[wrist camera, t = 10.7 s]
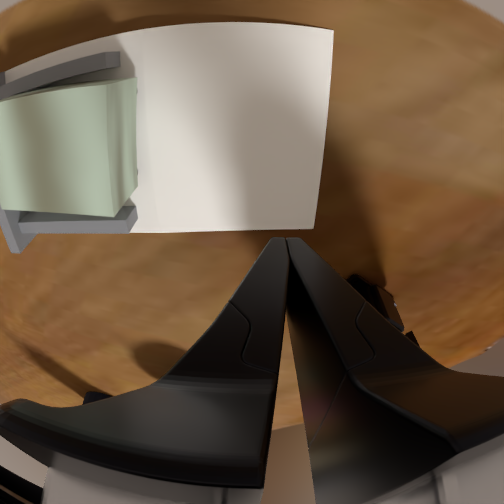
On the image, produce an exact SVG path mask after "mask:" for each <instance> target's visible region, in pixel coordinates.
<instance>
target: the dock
mask: <svg viewBox="0 0 504 504" xmlns="http://www.w3.org/2000/svg"><path fill="white" fill-rule="evenodd" d="M333 32H334V30H328V29H322V28H315V27H307V26H298V25H288V24H275V23H255V22H214V23H194V24H181V25H171V26H162V27H155V28H148V29H141V30H135V31H130V32H125V33H120V34H116V35H111V36H107V37H103V38H99V39H95V40H91V41H87V42H84V43H80V44H77V45H73V46H70V47H67V48H64V49H61V50H58V51H55V52H52V53H49V54H46V55H44V56H41V57H38V58H36V59H33V60H31V61H28V62H26V63H23V64H21V65H18V66H16V67H14V68H12V69H9V70H7V71H5V72H1V73H0V100H2V99H4V98H7V97H10V96H13V95H16V94H19V93H22V92H26V91H31V90H36V89H41V88H46V87H52V86H58V85H64V84H71V83H78V82H86V81H95V80H105V79H118V78H135V77H137V90H138V92H137V102H136V149H137V169H138V175H137V178H138V187H137V188H136V189H135V191H134V192H133V193H132V194H131V196H130V197H129V198H128V199H127V201H126V202H125V203H124V205H123V206H122V207H121V209H120V210H119V211H118V213H117V214H116V215H115V217H106V216H94V215H80V214H67V213H52V212H37V211H21V210H4V209H2V208H1V205H0V226H1V228H2V231H3V234H4V236H5V239H6V241H7V244H8V246H9V248H10V251H11V253H21V252H22V251H23V250H24V248H25V247H26V246H27V245H28V244H29V243H30V242H31V240H32V239H33V238H34V237H35V236H36V235H37V234H38V233H126V234H129V233H168V232H197V231H231V230H276V229H313V228H314V222H315V215H316V208H317V201H318V193H319V186H320V178H321V170H322V162H323V153H324V144H325V135H326V125H327V115H328V104H329V93H330V80H331V67H332V51H333Z"/></svg>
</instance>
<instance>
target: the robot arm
mask: <svg viewBox="0 0 504 504" xmlns="http://www.w3.org/2000/svg"><path fill="white" fill-rule="evenodd" d="M354 280H356V281H354ZM285 314H286V315H287V321H288V327H289V333H290V339H291V344H292V350H293V356H294V362H295V368H296V374H297V380H298V386H299V392H300V399H301V405H302V411H303V418H304V424H305V430H306V436H307V444H308V448H309V449H308V451H309V457H310V464H311V471H312V478H313V485H314V492H315V500H316V504H504V377H499V376H489V375H480V374H471V373H463V372H457V371H454V370H451V369H448V368H446V367H444V366H443V365H441V364H439V363H438V362H437V361H435V360H434V359H433V358H432V357H431V356H429V355H428V354H427V353H426V352H424V351H423V350H422V349H421V348H420V346H419V344H418V342H417V340H416V338H415V336H414V334H413V332H412V331H410V332H408V333H406V335H404V334H403V333H401V332H403V331H404V325H403V323H402V320H401V318H400V315H399V313H398V311H397V308H396V303H395V302H394V301H393V299H392V297H391V295H389V294H388V293H387V292H385V291H384V290H383V289H381V288H380V287H379V286H377V285H375V284H373V285H372V284H371V283H369V282H368V281H366V280H365V279H364V278H362V277H361V276H360V275H358V274H355V275H352V276H351V277H350V278H348V279H347V280H345V279H344V278H343V277H341V276H340V275H339V274H338V273H337V272H336V271H335V270H334V269H333V268H332V267H331V266H330V265H329V264H328V263H327V262H326V261H325V260H324V259H322V258H321V257H320V256H319V255H318V254H317V253H316V252H315V251H314V250H313V249H312V248H311V247H310V246H309V245H307V244H306V243H305V242H304V241H303V240H302V239H301V238H286V239H285V238H283V237H272V238H271V239H270V240H269V242H268V243H267V245H266V246H265V248H264V249H263V251H262V252H261V254H260V255H259V257H258V258H257V260H256V261H255V262H254V264H253V265H252V267H251V268H250V270H249V271H248V273H247V274H246V276H245V277H244V279H243V280H242V282H241V283H240V285H239V286H238V288H237V289H236V291H235V292H234V294H233V295H232V297H231V298H230V299H229V301H228V303H227V304H226V305H225V307H224V308H223V310H222V311H221V312H220V314H219V315H218V316H217V318H216V319H215V321H214V322H213V323H212V325H211V326H210V327H209V328H208V329H207V330H206V331H205V333H204V334H203V335H202V336H201V337H200V338H199V339H198V340H197V341H196V343H195V344H194V345H193V346H192V347H191V348H190V349H189V350H188V351H187V352H186V353H185V354H184V355H183V356H182V357H181V358H180V360H179V361H178V362H177V363H176V364H175V365H174V366H173V367H172V368H171V369H170V370H169V371H168V372H167V373H166V374H165V375H164V376H163V377H161V378H160V379H159V380H157V381H156V382H154V383H153V384H151V385H149V386H146V387H143V388H140V389H137V390H134V391H130V392H127V393H124V394H120V395H117V396H114V397H110V398H106V399H103V400H99V401H96V402H92V403H88V404H84V405H80V406H75V407H63V408H59V407H50V406H45V405H42V404H39V403H36V402H33V401H30V400H27V399H16V400H13V401H10V402H7V403H4V404H1V405H0V435H1V436H2V437H3V438H5V439H6V440H7V441H9V442H10V443H12V444H13V445H15V446H16V447H17V448H19V449H20V450H22V451H23V452H25V453H26V454H28V455H29V456H31V457H33V458H34V459H36V460H37V461H39V462H41V463H42V464H44V465H46V466H47V467H48V471H47V475H46V479H45V483H44V488H41V487H39V486H37V485H35V484H33V483H31V482H29V481H27V480H25V479H23V478H22V477H19V476H18V475H16V474H14V473H13V472H11V471H9V470H7V469H5V468H4V467H2V466H1V465H0V504H260V502H261V498H262V494H263V489H264V482H265V474H266V466H267V458H268V452H269V445H270V438H271V431H272V423H273V416H274V408H275V400H276V392H277V384H278V376H279V368H280V359H281V351H282V342H283V333H284V323H285Z"/></svg>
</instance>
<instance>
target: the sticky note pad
mask: <svg viewBox="0 0 504 504" xmlns="http://www.w3.org/2000/svg"><path fill="white" fill-rule="evenodd" d="M137 92H138V90H137V77H135V78H118V79H105V80H95V81H86V82H78V83H71V84H64V85H58V86H52V87H46V88H41V89H36V90H31V91H26V92H22V93H19V94H16V95H13V96H10V97H7V98H4V99H2V100H0V205H1V208H2V209H4V210H21V211H37V212H52V213H67V214H80V215H94V216H106V217H115V215H116V214H117V213H118V211H119V210H120V209H121V207H122V206H123V205H124V203H125V202H126V201H127V199H128V198H129V197H130V196H131V194H132V193H133V192H134V191H135V189H136V188H137V187H138V178H137V175H138V169H137V149H136V102H137Z"/></svg>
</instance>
